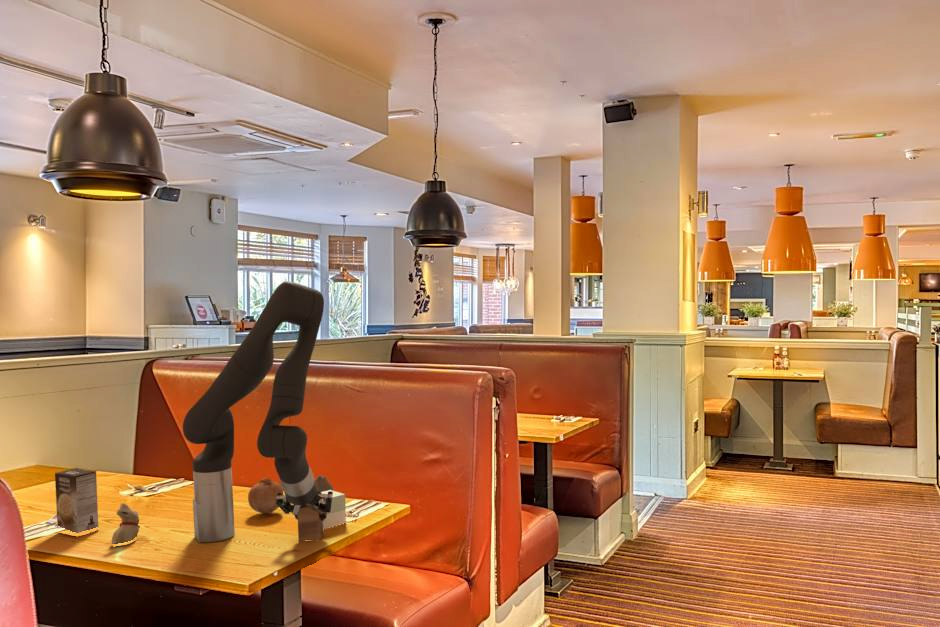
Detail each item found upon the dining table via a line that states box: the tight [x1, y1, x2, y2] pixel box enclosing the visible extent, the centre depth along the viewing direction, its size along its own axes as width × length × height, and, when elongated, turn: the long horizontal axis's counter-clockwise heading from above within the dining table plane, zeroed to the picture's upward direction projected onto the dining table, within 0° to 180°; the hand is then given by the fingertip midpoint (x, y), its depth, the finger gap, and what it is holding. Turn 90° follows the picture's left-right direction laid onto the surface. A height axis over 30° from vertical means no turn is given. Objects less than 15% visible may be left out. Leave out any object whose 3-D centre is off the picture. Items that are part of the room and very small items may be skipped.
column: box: [297, 499, 324, 542], centre depth 194 cm, size 5×5×10 cm
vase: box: [315, 475, 335, 492], centre depth 221 cm, size 7×7×9 cm
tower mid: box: [321, 490, 346, 514], centre depth 205 cm, size 7×7×4 cm
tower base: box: [323, 510, 347, 530], centre depth 205 cm, size 7×7×4 cm
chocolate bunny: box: [111, 502, 141, 544], centre depth 196 cm, size 6×8×10 cm
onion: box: [247, 477, 284, 515], centre depth 216 cm, size 10×9×10 cm
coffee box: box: [54, 467, 99, 533], centre depth 206 cm, size 9×6×16 cm
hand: (312, 517), depth 196 cm, fingers closed on column, 5 cm apart
